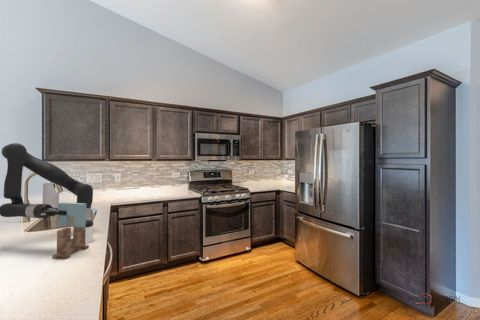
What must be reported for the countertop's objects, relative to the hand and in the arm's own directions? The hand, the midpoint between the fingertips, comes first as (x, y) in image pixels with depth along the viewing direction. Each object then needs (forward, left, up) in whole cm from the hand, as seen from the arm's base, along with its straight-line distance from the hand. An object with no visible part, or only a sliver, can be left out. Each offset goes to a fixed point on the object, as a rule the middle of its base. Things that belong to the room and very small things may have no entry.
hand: (68, 212), depth 128 cm
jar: (-17, -4, -22) cm, 28 cm away
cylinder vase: (-97, -104, -22) cm, 144 cm away
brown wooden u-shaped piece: (0, +2, -21) cm, 21 cm away
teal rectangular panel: (0, +2, -7) cm, 7 cm away
